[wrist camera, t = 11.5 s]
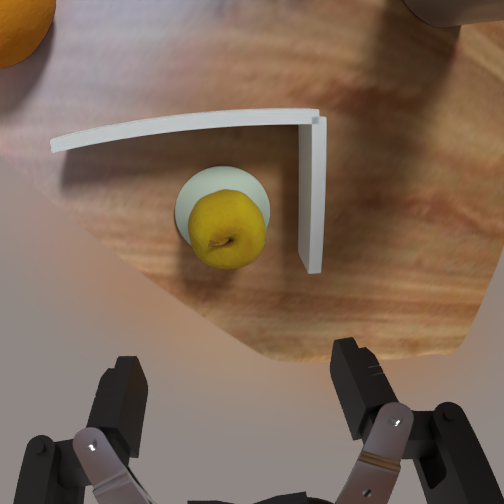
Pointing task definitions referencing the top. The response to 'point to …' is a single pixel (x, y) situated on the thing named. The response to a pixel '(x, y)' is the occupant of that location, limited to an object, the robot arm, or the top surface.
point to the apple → (226, 229)
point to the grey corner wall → (307, 120)
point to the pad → (216, 181)
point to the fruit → (23, 28)
